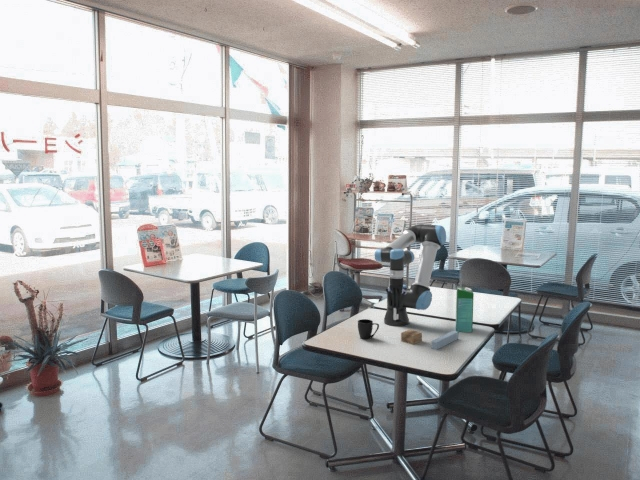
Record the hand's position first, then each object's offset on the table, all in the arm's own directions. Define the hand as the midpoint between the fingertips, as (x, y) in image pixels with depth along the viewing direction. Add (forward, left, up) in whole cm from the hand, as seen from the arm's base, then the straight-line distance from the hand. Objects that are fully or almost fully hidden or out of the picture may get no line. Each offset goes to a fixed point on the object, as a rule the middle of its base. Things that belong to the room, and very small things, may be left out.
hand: (395, 319), depth 300 cm
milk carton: (+22, +38, -11) cm, 45 cm away
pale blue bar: (+26, +8, -11) cm, 29 cm away
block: (+10, 0, -11) cm, 15 cm away
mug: (-11, -11, -11) cm, 19 cm away
